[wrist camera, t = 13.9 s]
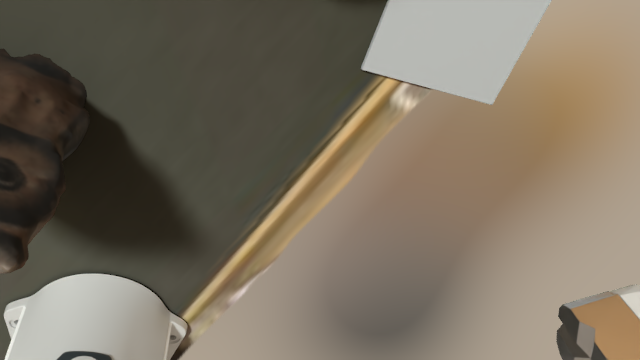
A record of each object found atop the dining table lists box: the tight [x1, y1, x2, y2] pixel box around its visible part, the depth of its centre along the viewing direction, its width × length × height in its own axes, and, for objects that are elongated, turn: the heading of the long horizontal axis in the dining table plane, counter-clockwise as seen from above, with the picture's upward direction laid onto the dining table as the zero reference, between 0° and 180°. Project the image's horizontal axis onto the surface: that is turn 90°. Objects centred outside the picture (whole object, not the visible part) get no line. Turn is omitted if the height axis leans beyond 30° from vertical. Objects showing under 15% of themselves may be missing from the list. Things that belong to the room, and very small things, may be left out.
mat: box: [361, 0, 551, 105], centre depth 42 cm, size 13×13×1 cm
